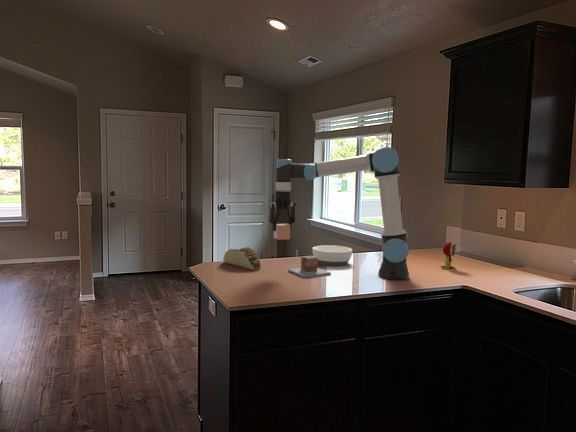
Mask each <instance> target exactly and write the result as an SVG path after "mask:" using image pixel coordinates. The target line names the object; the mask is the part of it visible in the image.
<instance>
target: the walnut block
mask: <svg viewBox="0 0 576 432" xmlns="http://www.w3.org/2000/svg"><path fill="white" fill-rule="evenodd" d="M300 260H301V261H300V268H301V270H302V271H305V272H316V271H317V268H318V258H317V257H314V256H313V255H303V256H301V258H300Z"/></svg>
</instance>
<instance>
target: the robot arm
mask: <svg viewBox="0 0 576 432" xmlns="http://www.w3.org/2000/svg"><path fill="white" fill-rule="evenodd" d="M364 171H365V172H366V171H368V172H374V173H373V175H374V178H375V179H376V181H378V189H379V197H380V205H381V207H380V208H381V215H382V223H383V232H382V233H381V245H382V261H381V264H380V268H379V269H378V273H377V275H378V277H380V278H382V279H385V280H392V281H394V280H395V281H401V280H402V281H404V280H408V279H409V278H410V272H409V268H408V265H407V256H408V255H409V253H410V252H409V251H410V248H409V244H408V240H409V236H408V235H409V233H407V231H406V230H405V229H404V228H403V219H402V212H401V204H400V194H399V193H400V192H399V185H398V177H399V176H400V172H401V171H400V164H399V155H398V153H397V151H396V150H395V149H394V148H392V147H391V146H382V147H379V148H378V149H376V150H374V151H370V152H367V153H366V154H365V155H363V154H362V155H357V156H350V157H345V158H338V159H330V160H325V161H319V162H312V163H311V162H309V163H293V162H292V159H289V158H287V159H286V158H284V159H283V158H281V159H280V158H278V159H277V160H276V166H275V192H274V193H275V200H274V202H270V203H269V208H270V210H269V221H268V222H269V224H272V231H273V234H274V237H275V238H278V225H277V224H278V221H279V218H280V216H281V212H282V211H284V214H285V219H286V222H287V223H286V224H287V225H290V231H291V230H292V225H293V224H294V223H296V208H295V207H296V205H297V204H296V203H295V202H292V201H291V197H292V196H291V194H292V192H291V191H292V180H295V179H296V180H315V179H316V178H321V177H329V176H335V175H337V176H338V175H343V174H351V173H357V172H364ZM275 207H276V208H275ZM275 238H274V239H275Z"/></svg>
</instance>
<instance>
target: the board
mask: <svg viewBox="0 0 576 432" xmlns="http://www.w3.org/2000/svg"><path fill="white" fill-rule="evenodd" d="M287 270H288V271H289V273H291V272H292V273H291V274H293V273H294V275H296V274H297V275H296V276H298V275H299V276H298V277H300V276H301V277H300V278H303V277H304V279H306V278H305V277H307V278H313V277H314V276H317V277H325V275H327V276H331V275H332V272H329V271H328V270H324V269H322V268H318V267H317V271H316V272H305V271H302V270H301V267H300V268H299V267H298V268H289V269H287ZM288 271H287V272H288ZM314 278H315V277H314Z"/></svg>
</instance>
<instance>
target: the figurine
mask: <svg viewBox="0 0 576 432" xmlns="http://www.w3.org/2000/svg"><path fill="white" fill-rule="evenodd" d="M442 252H443V254H444V255H445V259H444V265H440V266H439V267H438V269H440V270H441V269H442V271H447V270H450V271H449V272H452V271H451V270H455V271H457V268H456V267H454V266H452V260H453V259H452V257H454V256H455V255H456V254H457V245H456V244H455V242H452V241H449V242H446V243H444V244H443V246H442Z"/></svg>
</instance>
